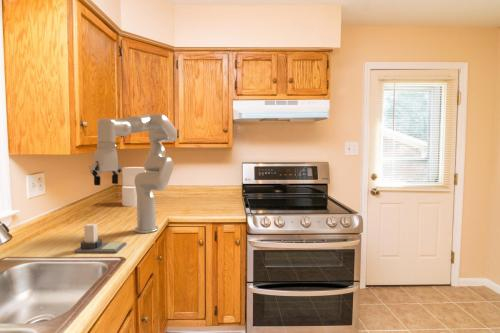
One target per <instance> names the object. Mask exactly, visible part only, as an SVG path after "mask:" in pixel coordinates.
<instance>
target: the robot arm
mask: <svg viewBox="0 0 500 333" xmlns="http://www.w3.org/2000/svg"><path fill="white" fill-rule="evenodd" d="M147 131H148V132H147ZM143 132H147V137H148V140H149V145H150V149H149V152H148V155H147V157H146V159H145V162H144V165H143V167H144V169H145V171H146V172H142V173H139V174H137V175H136V177H135V180H134V182H135V187H136V193H137V206H136V226H137V227H134V232H135V233H140V234H149V233H155V232H157V231H159V226H157V225H156V196H155V193H154V192H153V191H155V192H163V191H164V190H165V189H166V188H167V186H168V184H169V182H170V180H171V179H170V178H171V176H172V174H173V170H174V160H173V159H172V158H171V157H169V156H166V148H165V146H164V145H163V143H162V142H168V143H169V142H174V141H176V140H177V138H178V131H177V128H176V127H175V125H174V124H173V122H172V121H171V120H170V119H169V118H168V117H167V116H166V115H164V114H163V113H147V114H139V115H133V116H128V117H121V118H119V117H118V118H105V117H104V118H103V117H102V118H98V120H97V133H96V134H97V137H96V138H97V140H96V141H97V144H96V146H97V149H95V150H94V154H93V156H94V157H93V163H92V164H90V165H89V166H88V169H89V171H90V173H91V175H92V176H93V185H94V186H101V174H102V173H103V172H104V173H107V172H110V173H111V174H112V175H111V183H112V185H113V184H114V185H115V184H116V185H118V184H119V175H120V173H121V172H122V170H123V165H122V164H121V163H119V159H118V158H119V157H118V151H117V149H116V148H117V144H116V141H117V137H126V136H128V135H130V134H136V133H137V134H140V133H143Z"/></svg>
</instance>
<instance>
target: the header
mask: <svg viewBox="0 0 500 333" xmlns="http://www.w3.org/2000/svg"><path fill="white" fill-rule="evenodd" d="M102 240H103V239H102V238H98V240H97V241H96V242H94V243H85V239H84V240H83V241H80V247H78V248H76V249H75V250H74V254H117V253H119V252H120V251H121V250H122V249H123V248H124V247H126V246H127V242H126V241H125V242H121V241H120V242H118V241H117V242H113V241H112V242H111V241H110V242H103V241H102Z"/></svg>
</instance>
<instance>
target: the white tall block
mask: <svg viewBox="0 0 500 333" xmlns="http://www.w3.org/2000/svg"><path fill="white" fill-rule="evenodd" d="M142 172H147V171H145V169H144V166H128V167H127V166H125V167H122V186H121V196H122V197H121V201H122V203H121V205H122V206H124V207H137V193H136V187H135V182H134V180H135V177H136V175H137V174H139V173H142Z"/></svg>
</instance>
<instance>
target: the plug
mask: <svg viewBox="0 0 500 333" xmlns="http://www.w3.org/2000/svg"><path fill="white" fill-rule="evenodd" d="M83 227H84V228H83V230H84V240H85V243H94V242H96V241H97V240H98V239H99V237H98V236H99V235H98V234H99V233H98V232H99V230H98V223H89V222H88V223H87V224H84V225H83Z"/></svg>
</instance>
